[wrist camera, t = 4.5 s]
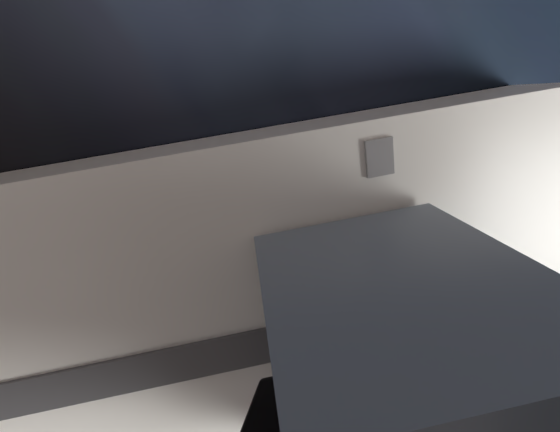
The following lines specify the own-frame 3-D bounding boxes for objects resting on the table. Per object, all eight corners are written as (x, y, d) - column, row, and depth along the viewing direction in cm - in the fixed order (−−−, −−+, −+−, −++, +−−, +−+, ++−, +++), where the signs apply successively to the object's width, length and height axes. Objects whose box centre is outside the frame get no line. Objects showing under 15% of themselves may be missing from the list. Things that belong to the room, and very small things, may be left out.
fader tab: (431, 403, 10) (611, 682, 5) (292, 435, 10) (348, 758, 5) (428, 203, 8) (716, 358, 3) (253, 236, 8) (283, 460, 3)
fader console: (494, 361, 13) (552, 421, 11) (-241, 527, 12) (-367, 641, 9) (511, 84, 10) (601, 80, 8) (-513, 260, 8) (-824, 328, 6)
